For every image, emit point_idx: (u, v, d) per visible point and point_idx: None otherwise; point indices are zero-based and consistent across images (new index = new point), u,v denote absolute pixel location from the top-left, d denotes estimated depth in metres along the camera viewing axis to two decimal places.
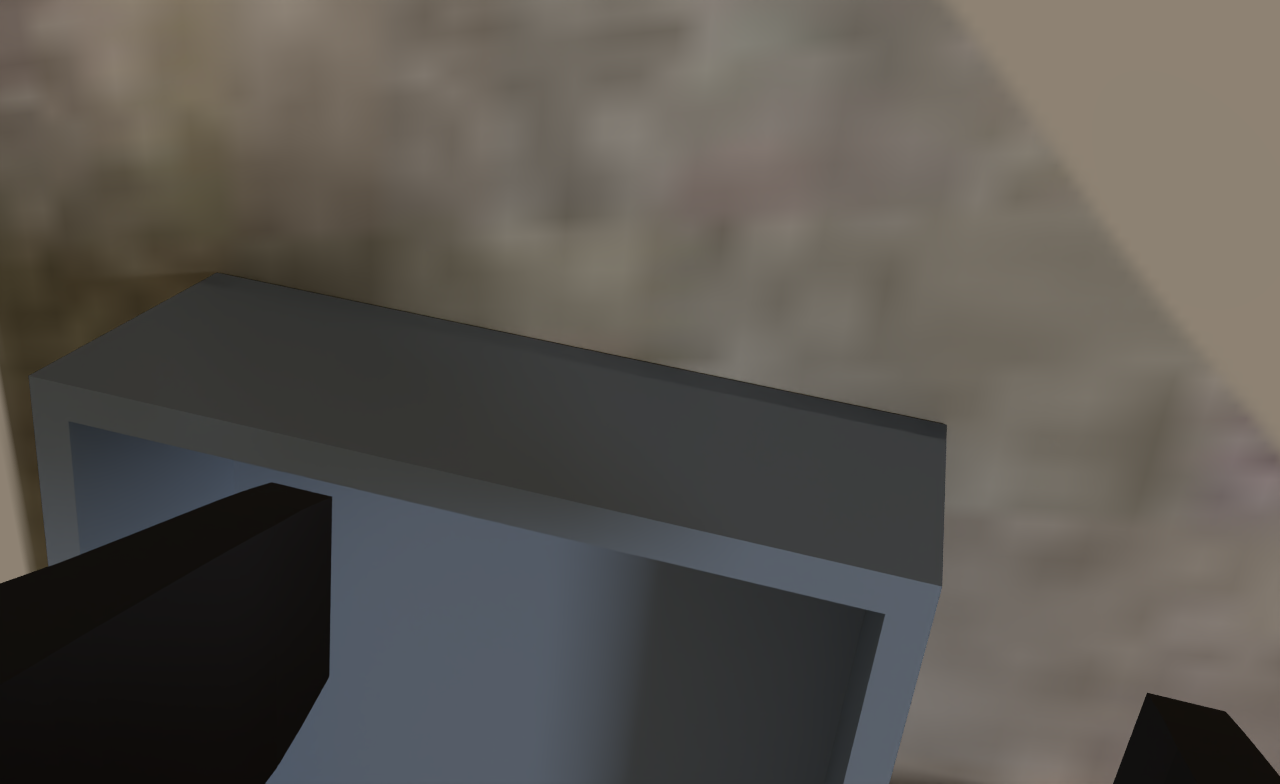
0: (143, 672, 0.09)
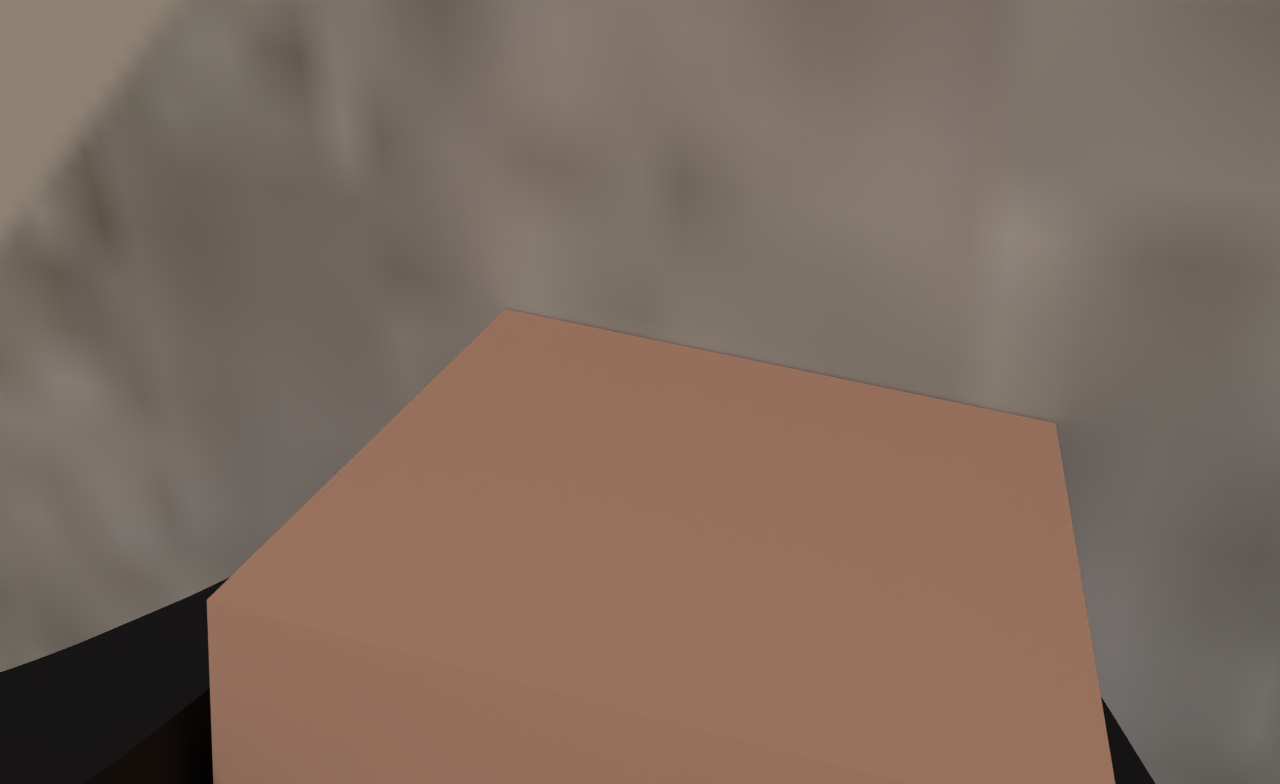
0: None
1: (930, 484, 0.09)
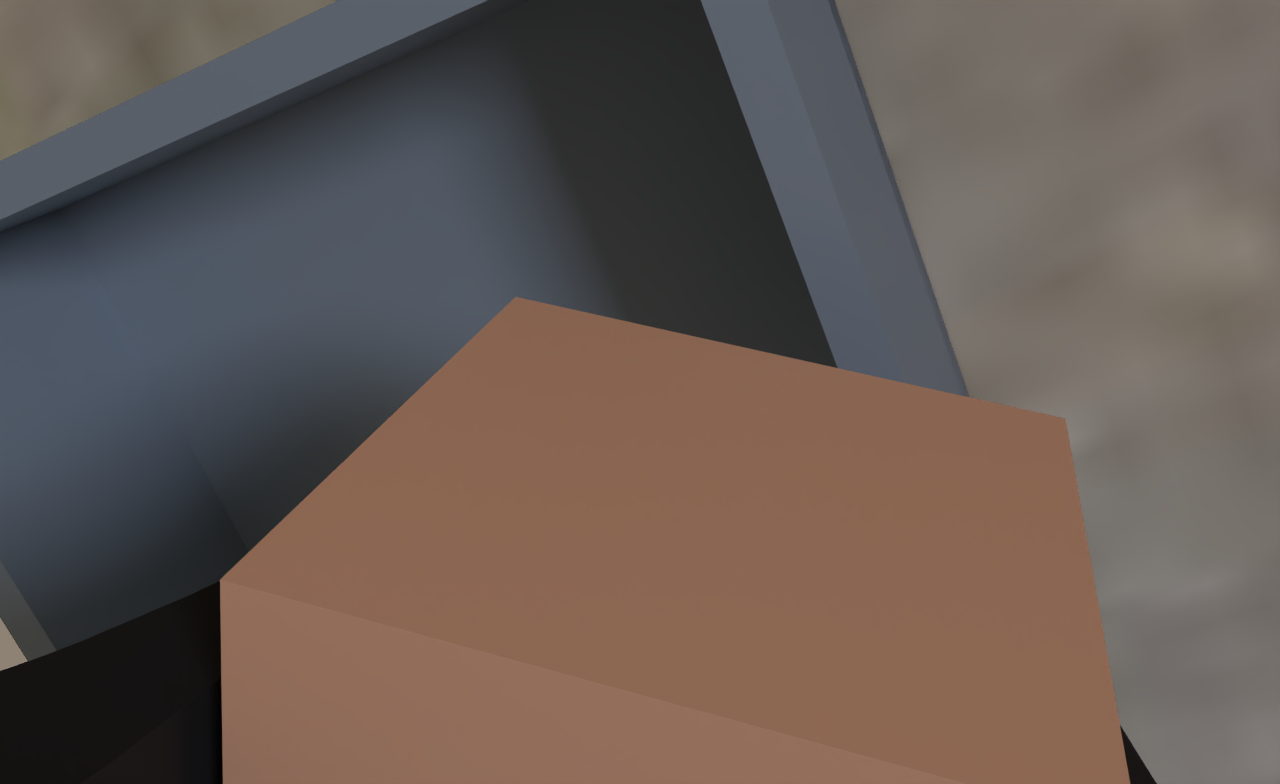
0: None
1: (941, 477, 0.09)
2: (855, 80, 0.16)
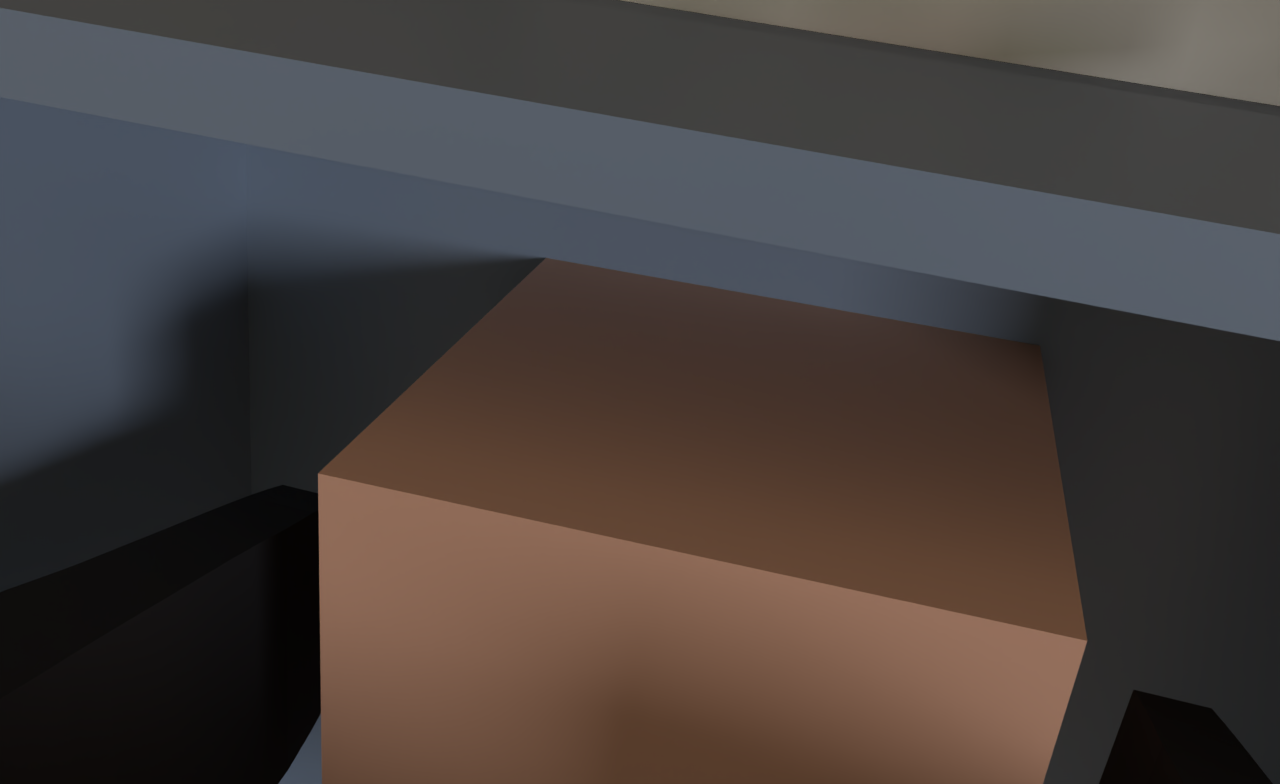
0: (156, 676, 0.09)
1: (927, 392, 0.10)
2: None
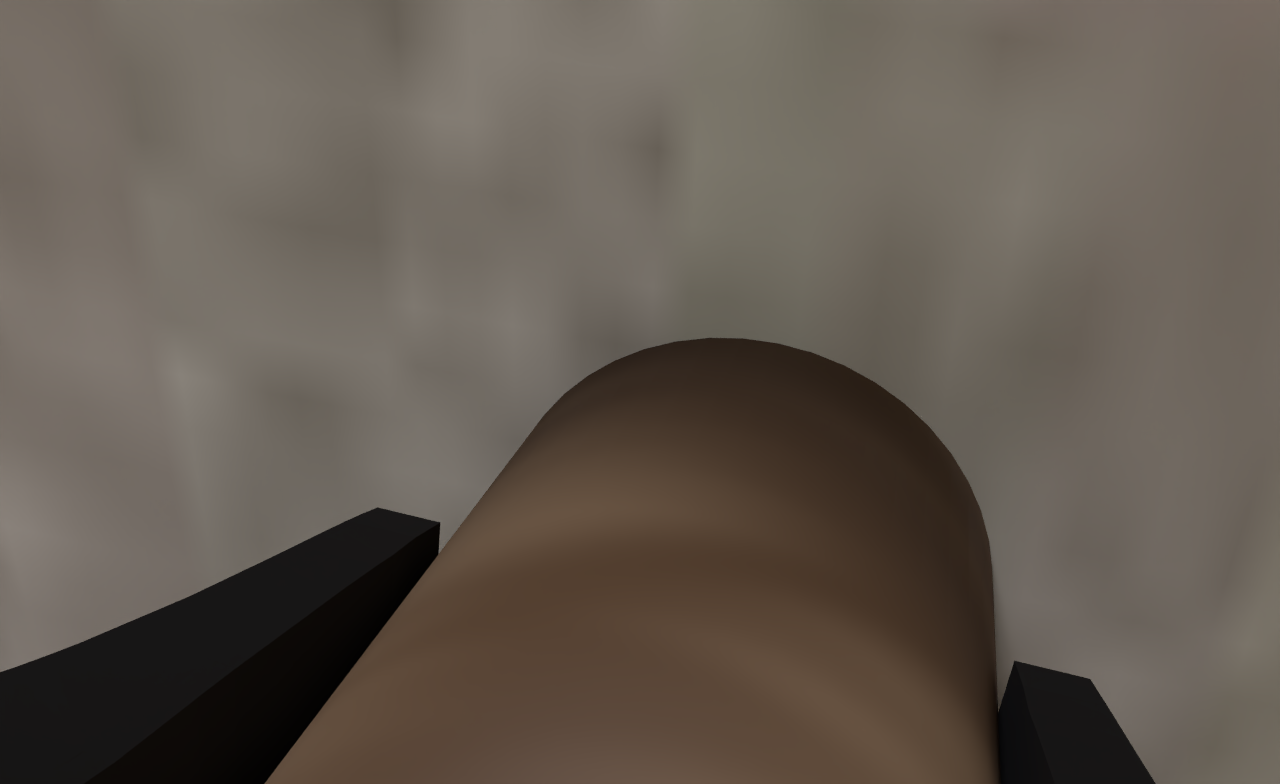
0: (276, 709, 0.08)
1: None
2: None
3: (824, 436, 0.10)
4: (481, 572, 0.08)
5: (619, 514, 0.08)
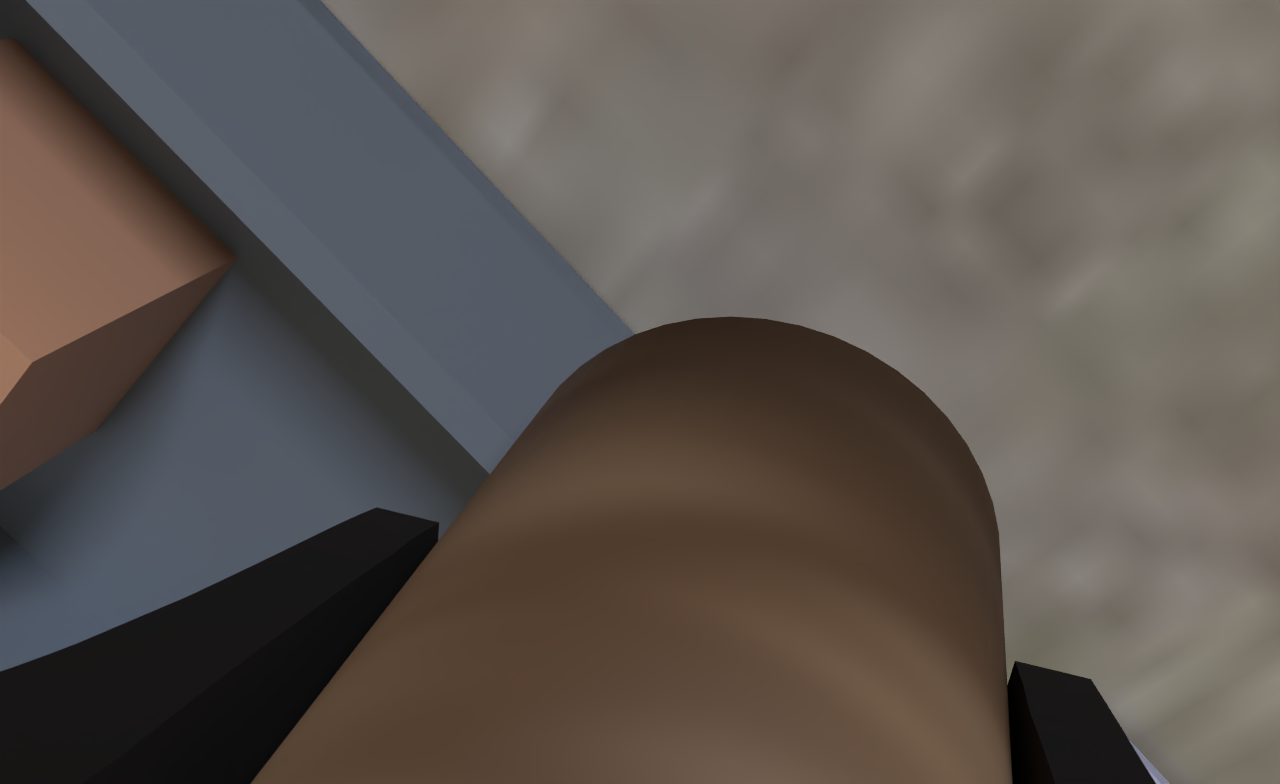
0: (275, 708, 0.08)
1: None
2: None
3: (850, 419, 0.10)
4: (508, 538, 0.08)
5: (648, 487, 0.08)
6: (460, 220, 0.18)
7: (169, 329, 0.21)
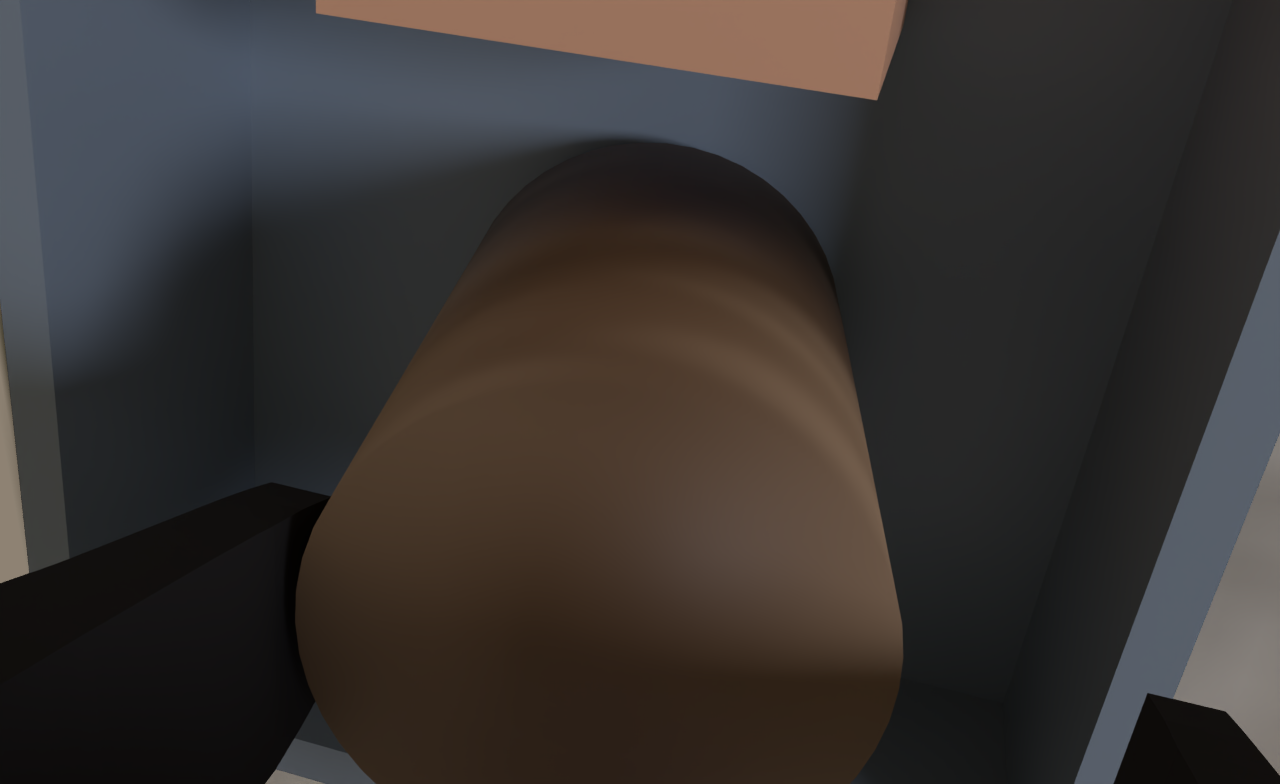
0: (143, 672, 0.09)
1: None
2: None
3: (740, 202, 0.14)
4: (528, 264, 0.12)
5: (618, 230, 0.12)
6: None
7: None
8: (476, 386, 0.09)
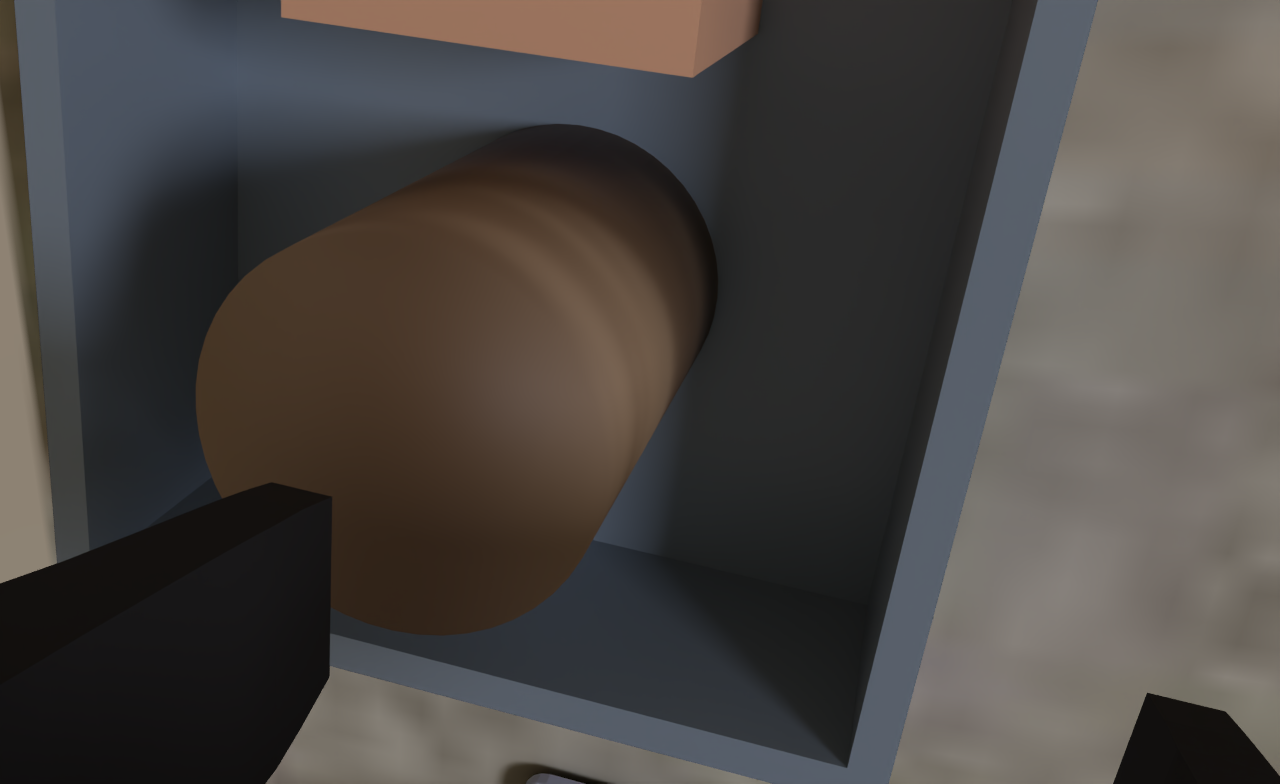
0: (143, 672, 0.09)
1: None
2: None
3: (609, 163, 0.18)
4: (409, 186, 0.16)
5: (483, 167, 0.16)
6: None
7: None
8: (309, 238, 0.13)
